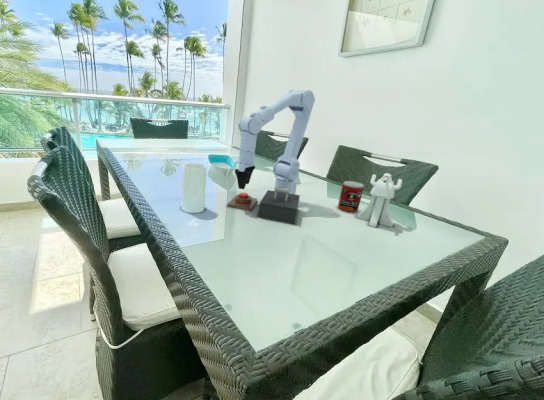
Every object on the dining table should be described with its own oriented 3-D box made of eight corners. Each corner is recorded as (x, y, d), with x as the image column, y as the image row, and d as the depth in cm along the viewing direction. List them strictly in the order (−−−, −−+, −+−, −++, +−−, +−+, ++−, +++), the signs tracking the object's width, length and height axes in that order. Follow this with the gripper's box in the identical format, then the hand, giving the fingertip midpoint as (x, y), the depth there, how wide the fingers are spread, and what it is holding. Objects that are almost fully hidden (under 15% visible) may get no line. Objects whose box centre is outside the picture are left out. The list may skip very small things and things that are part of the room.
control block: (236, 197, 115) (236, 190, 114) (256, 201, 113) (257, 194, 112) (227, 206, 104) (228, 199, 103) (250, 211, 102) (251, 203, 101)
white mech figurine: (353, 222, 99) (366, 174, 93) (359, 212, 109) (371, 168, 103) (391, 232, 93) (406, 181, 87) (393, 221, 103) (407, 174, 97)
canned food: (337, 210, 109) (343, 184, 106) (337, 204, 117) (343, 179, 113) (358, 214, 107) (365, 187, 103) (357, 208, 114) (363, 182, 110)
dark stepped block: (265, 203, 111) (267, 192, 109) (297, 209, 107) (299, 197, 106) (258, 217, 97) (259, 204, 95) (294, 224, 93) (296, 211, 92)
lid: (267, 191, 110) (269, 178, 108) (299, 197, 106) (301, 183, 105) (259, 204, 95) (261, 189, 93) (296, 211, 92) (299, 195, 90)
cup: (186, 214, 94) (187, 168, 89) (178, 205, 101) (179, 163, 96) (207, 211, 98) (210, 168, 93) (199, 203, 105) (200, 162, 99)
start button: (240, 195, 110) (240, 192, 109) (248, 197, 109) (249, 193, 108) (237, 198, 106) (238, 194, 106) (246, 199, 105) (247, 196, 105)
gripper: (241, 147, 107) (238, 180, 112) (231, 152, 94) (228, 189, 99) (258, 149, 106) (254, 182, 110) (251, 154, 93) (247, 192, 97)
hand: (243, 186), depth 104 cm, fingers open, 7 cm apart
